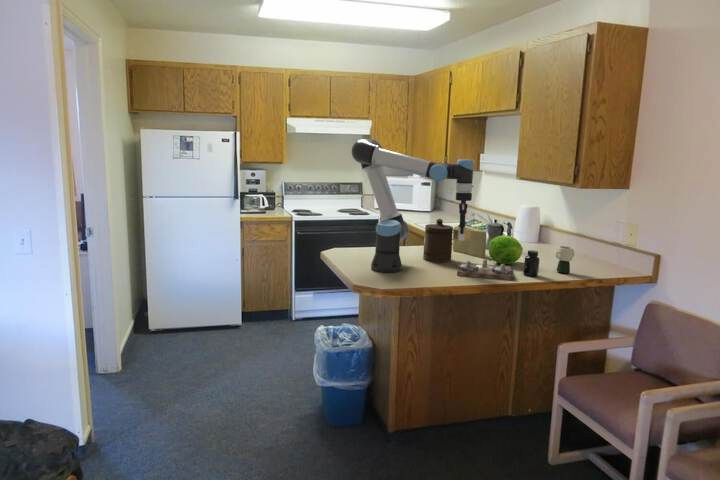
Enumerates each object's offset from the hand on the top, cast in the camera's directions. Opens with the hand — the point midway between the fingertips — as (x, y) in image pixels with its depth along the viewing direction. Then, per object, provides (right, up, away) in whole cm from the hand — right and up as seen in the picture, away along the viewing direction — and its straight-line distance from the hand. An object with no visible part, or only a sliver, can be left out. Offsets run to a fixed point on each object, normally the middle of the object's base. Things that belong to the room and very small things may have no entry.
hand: (461, 238), depth 250 cm
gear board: (+11, -17, +1) cm, 20 cm away
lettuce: (+28, -13, +23) cm, 38 cm away
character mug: (+52, -17, +7) cm, 55 cm away
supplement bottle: (+33, -18, 0) cm, 38 cm away
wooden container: (-8, -11, +26) cm, 29 cm away
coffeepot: (+31, -7, +57) cm, 65 cm away
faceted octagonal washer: (0, 0, 0) cm, 0 cm away
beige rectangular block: (+14, -9, +42) cm, 45 cm away
